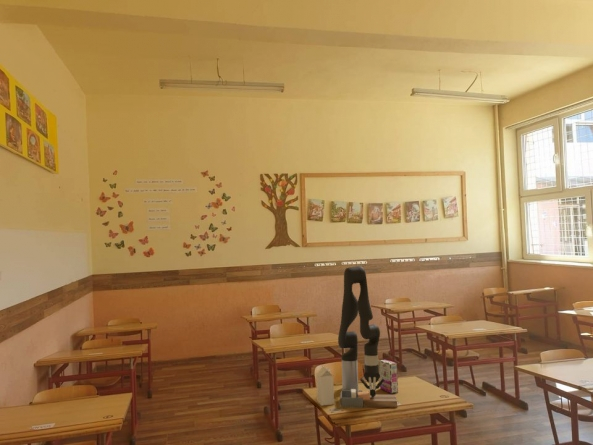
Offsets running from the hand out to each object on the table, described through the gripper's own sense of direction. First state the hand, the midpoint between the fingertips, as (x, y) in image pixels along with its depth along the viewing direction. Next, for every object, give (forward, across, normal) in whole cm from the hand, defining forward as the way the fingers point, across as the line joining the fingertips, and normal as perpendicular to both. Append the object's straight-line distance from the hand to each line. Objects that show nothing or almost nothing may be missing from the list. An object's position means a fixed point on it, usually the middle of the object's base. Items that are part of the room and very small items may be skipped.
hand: (372, 396), depth 242 cm
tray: (+4, +11, 0) cm, 12 cm away
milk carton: (+4, +25, 0) cm, 25 cm away
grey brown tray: (+4, -4, 0) cm, 5 cm away
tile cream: (0, +9, 0) cm, 9 cm away
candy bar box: (+4, -10, -22) cm, 25 cm away
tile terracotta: (0, +5, 0) cm, 5 cm away
